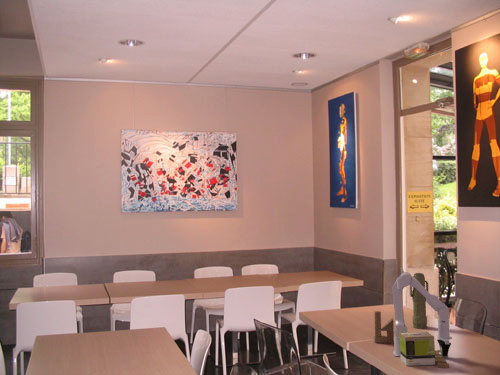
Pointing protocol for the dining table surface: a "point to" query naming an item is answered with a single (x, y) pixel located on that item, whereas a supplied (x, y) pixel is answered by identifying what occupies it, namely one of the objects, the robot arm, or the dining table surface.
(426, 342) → the tea box
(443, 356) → the grey-green block
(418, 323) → the thermos
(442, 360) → the walnut board
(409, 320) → the dining table surface
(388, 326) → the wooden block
